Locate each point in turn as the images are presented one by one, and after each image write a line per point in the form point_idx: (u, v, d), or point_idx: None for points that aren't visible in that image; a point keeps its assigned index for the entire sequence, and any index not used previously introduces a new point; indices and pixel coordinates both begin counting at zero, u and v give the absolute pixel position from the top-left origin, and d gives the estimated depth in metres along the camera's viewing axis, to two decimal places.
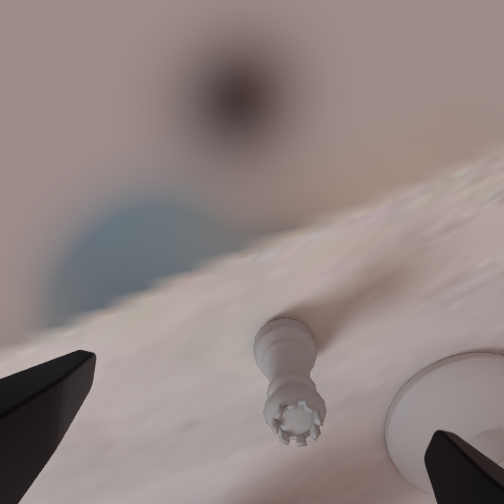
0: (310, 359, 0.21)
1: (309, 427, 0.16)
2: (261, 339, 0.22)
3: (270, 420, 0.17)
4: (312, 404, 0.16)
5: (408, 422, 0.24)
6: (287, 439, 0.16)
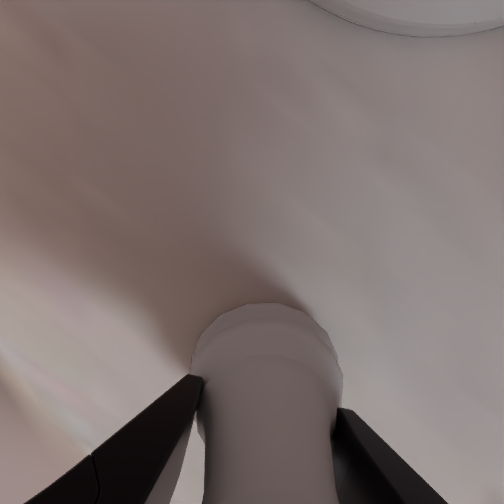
0: (240, 370, 0.07)
1: None
2: None
3: None
4: None
5: None
6: None
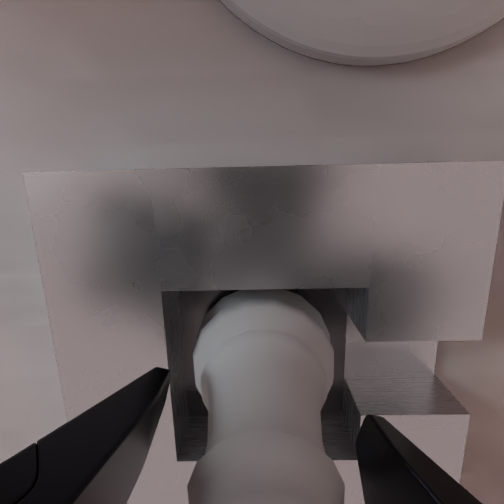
0: (239, 342, 0.08)
1: None
2: None
3: None
4: None
5: None
6: None
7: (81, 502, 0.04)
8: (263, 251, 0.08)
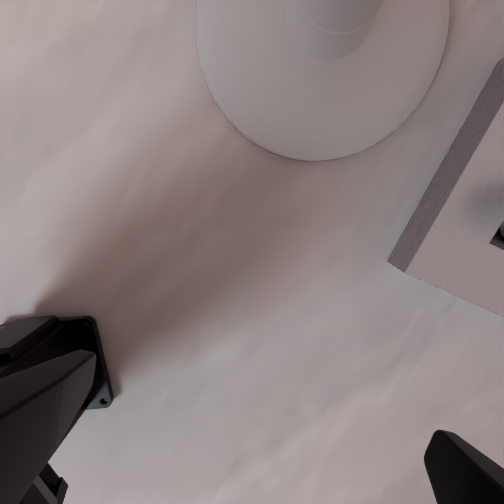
0: None
1: None
2: None
3: None
4: None
5: (210, 24, 0.16)
6: None
7: None
8: (502, 185, 0.16)
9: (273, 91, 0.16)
